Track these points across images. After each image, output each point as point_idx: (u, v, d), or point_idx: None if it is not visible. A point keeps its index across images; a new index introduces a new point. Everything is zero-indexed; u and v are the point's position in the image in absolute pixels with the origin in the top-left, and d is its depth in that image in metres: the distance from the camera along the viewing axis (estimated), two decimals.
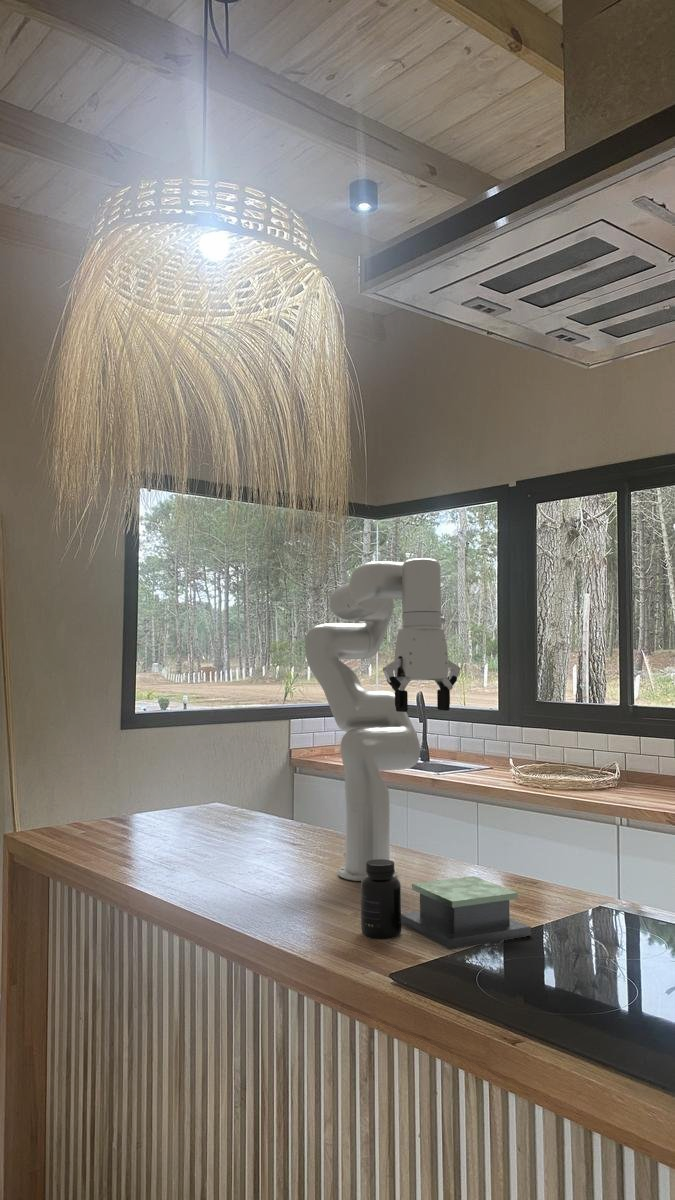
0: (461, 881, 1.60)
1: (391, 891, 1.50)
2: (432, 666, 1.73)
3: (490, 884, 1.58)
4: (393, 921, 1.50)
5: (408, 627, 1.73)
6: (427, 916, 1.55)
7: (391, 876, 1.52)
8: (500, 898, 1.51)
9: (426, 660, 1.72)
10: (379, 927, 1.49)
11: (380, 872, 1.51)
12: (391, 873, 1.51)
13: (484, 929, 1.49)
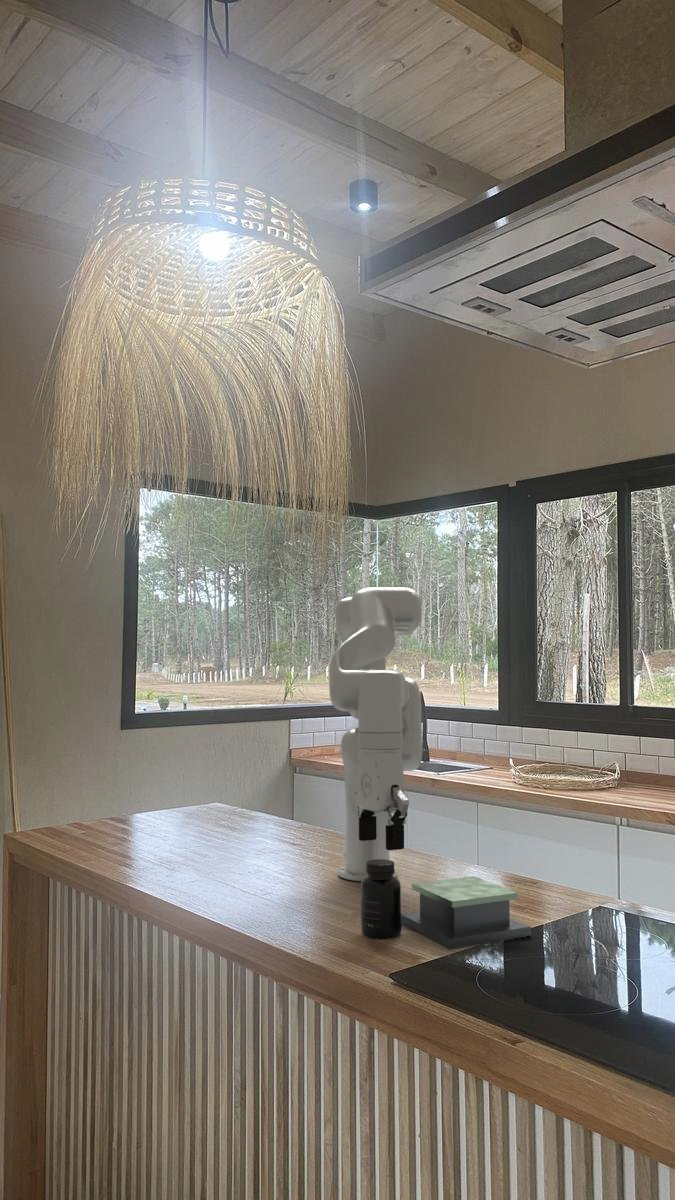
0: (461, 881, 1.60)
1: (391, 891, 1.50)
2: None
3: (490, 884, 1.58)
4: (393, 921, 1.50)
5: (394, 750, 1.51)
6: (427, 916, 1.55)
7: (391, 876, 1.52)
8: (500, 898, 1.51)
9: None
10: (379, 927, 1.49)
11: (380, 872, 1.51)
12: (391, 873, 1.51)
13: (484, 929, 1.49)
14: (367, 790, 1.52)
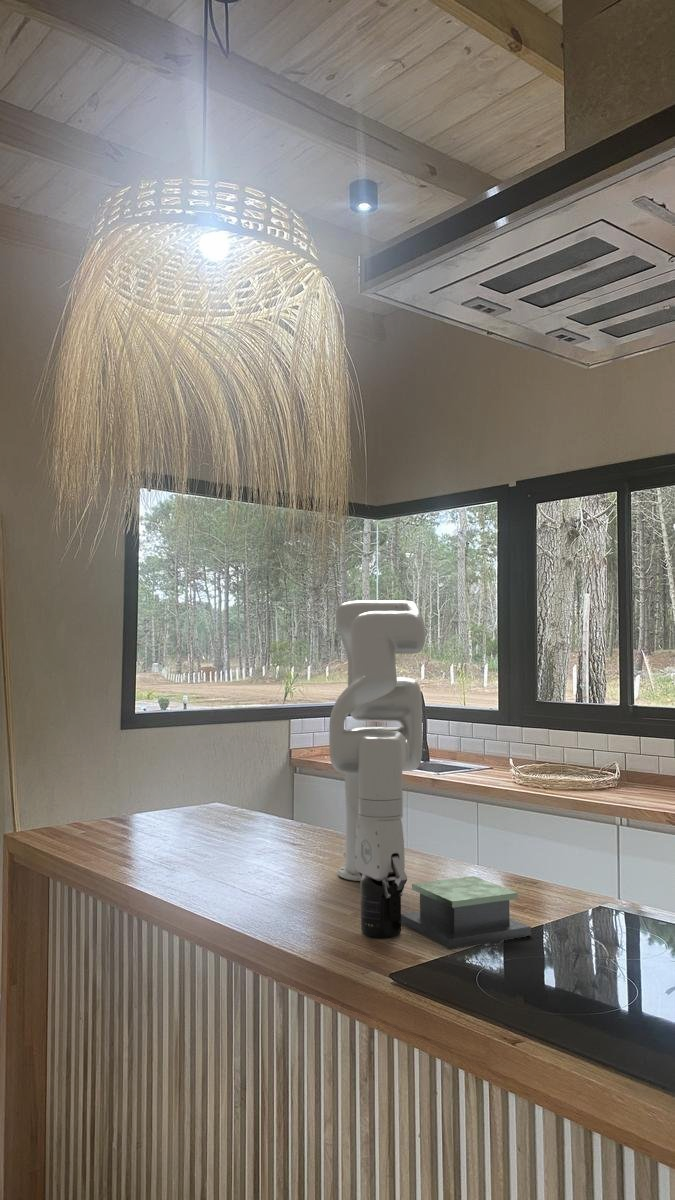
0: (461, 881, 1.60)
1: None
2: None
3: (490, 884, 1.58)
4: None
5: (395, 817, 1.51)
6: (427, 916, 1.55)
7: (391, 876, 1.52)
8: (500, 898, 1.51)
9: None
10: (379, 927, 1.49)
11: None
12: None
13: (484, 929, 1.49)
14: (367, 857, 1.52)
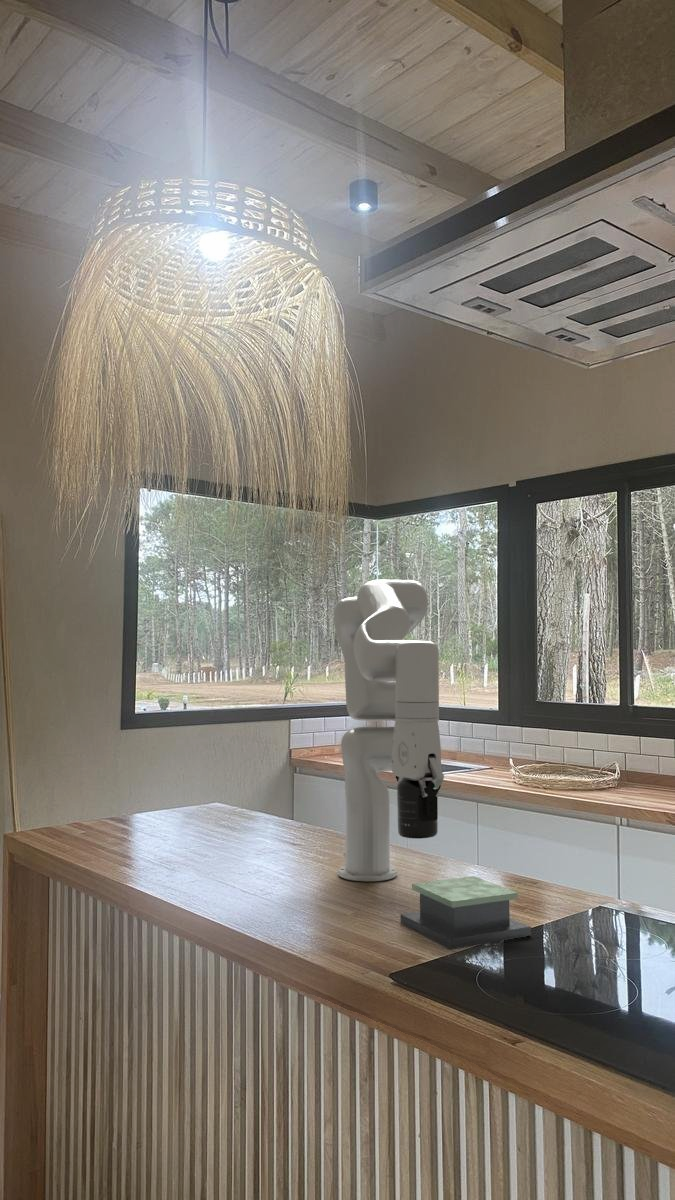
0: (461, 881, 1.60)
1: None
2: None
3: (490, 884, 1.58)
4: None
5: (431, 719, 1.53)
6: (427, 916, 1.55)
7: None
8: (500, 898, 1.51)
9: None
10: (416, 826, 1.51)
11: None
12: None
13: (484, 929, 1.49)
14: (404, 759, 1.54)
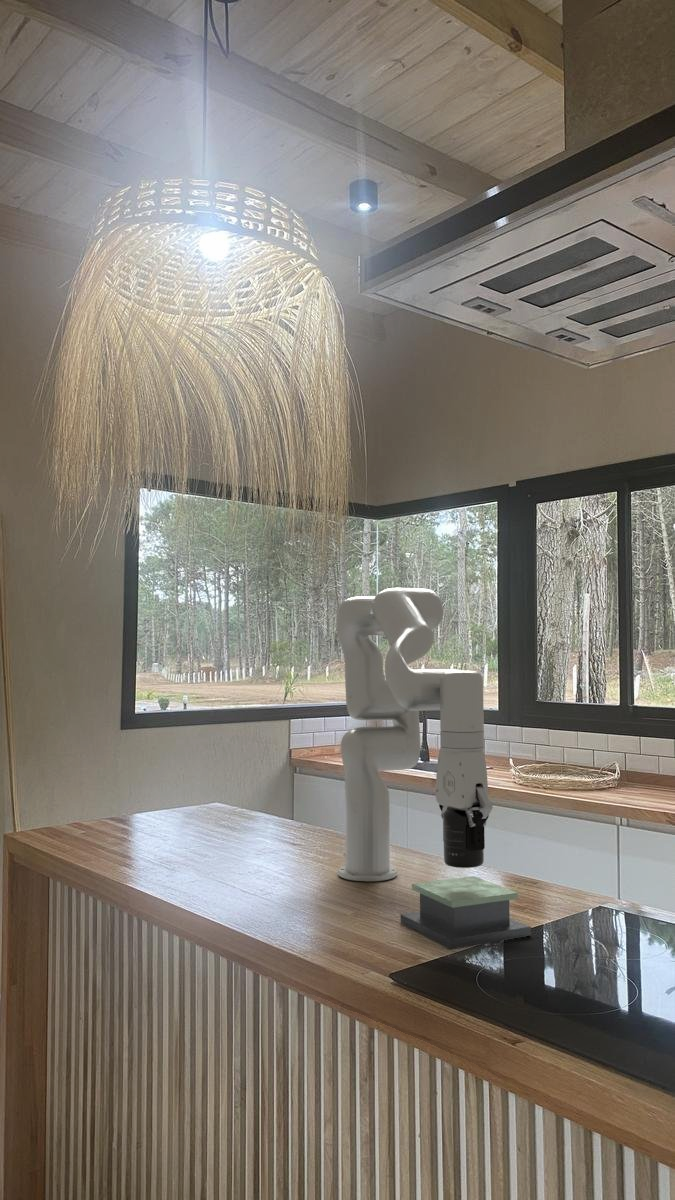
0: (461, 881, 1.60)
1: None
2: None
3: (490, 884, 1.58)
4: (477, 850, 1.53)
5: (478, 749, 1.54)
6: (427, 916, 1.55)
7: None
8: (500, 898, 1.51)
9: None
10: (463, 856, 1.52)
11: None
12: None
13: (484, 929, 1.49)
14: (450, 788, 1.55)
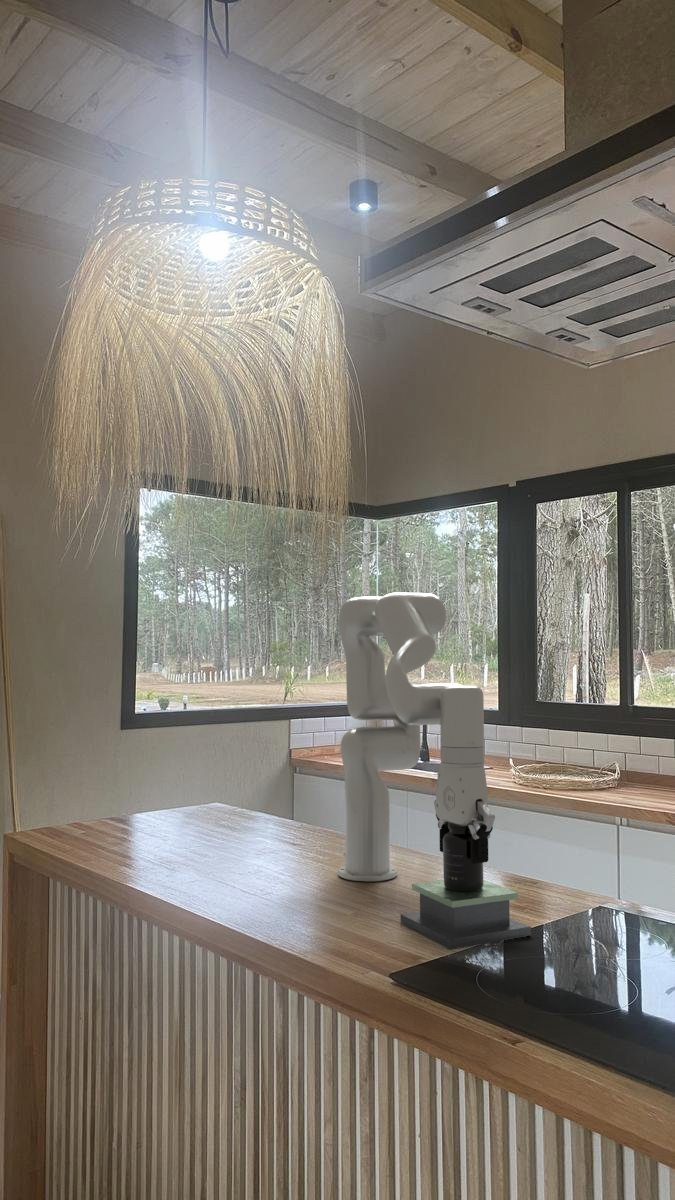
0: None
1: None
2: None
3: (490, 884, 1.58)
4: (477, 874, 1.53)
5: (478, 764, 1.54)
6: (427, 916, 1.55)
7: None
8: (500, 898, 1.51)
9: None
10: (463, 880, 1.52)
11: (463, 826, 1.54)
12: None
13: (484, 929, 1.49)
14: (450, 803, 1.55)
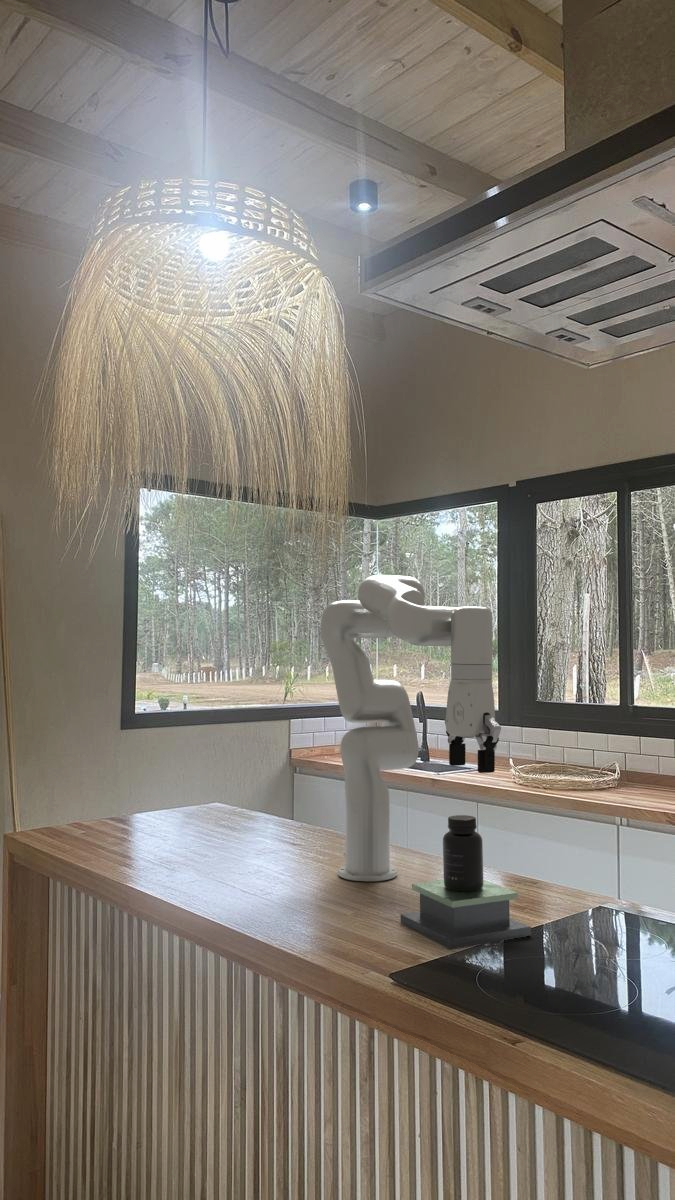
0: None
1: (474, 845, 1.53)
2: None
3: (490, 884, 1.58)
4: (477, 874, 1.53)
5: (486, 681, 1.61)
6: (427, 916, 1.55)
7: (473, 831, 1.55)
8: (500, 898, 1.51)
9: None
10: (463, 880, 1.52)
11: (463, 826, 1.54)
12: (474, 827, 1.54)
13: (484, 929, 1.49)
14: (459, 718, 1.63)
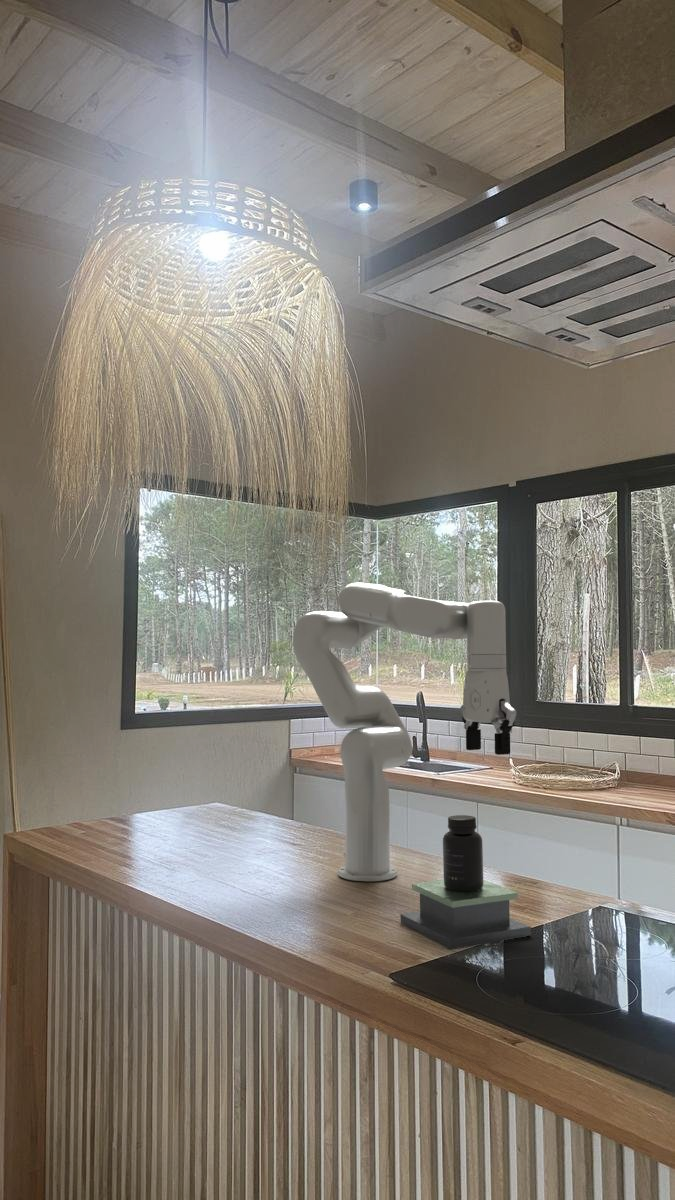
0: None
1: (474, 845, 1.53)
2: None
3: (490, 884, 1.58)
4: (477, 874, 1.53)
5: (501, 669, 1.74)
6: (427, 916, 1.55)
7: (473, 831, 1.55)
8: (500, 898, 1.51)
9: None
10: (463, 880, 1.52)
11: (463, 826, 1.54)
12: (473, 827, 1.54)
13: (484, 929, 1.49)
14: (476, 704, 1.75)
